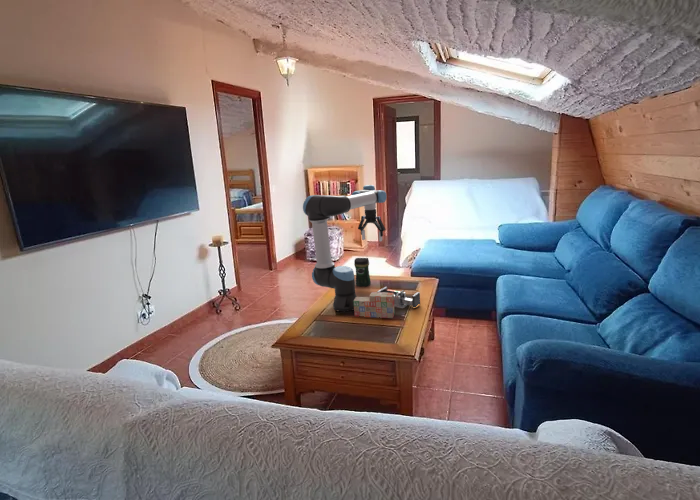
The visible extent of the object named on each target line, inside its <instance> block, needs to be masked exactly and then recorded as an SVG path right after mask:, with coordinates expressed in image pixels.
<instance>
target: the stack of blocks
mask: <svg viewBox="0 0 700 500" xmlns="http://www.w3.org/2000/svg"><path fill="white" fill-rule="evenodd" d="M353 303H354V311H353V312H354V317H359V316H364V317H363V318H379V317H380V318H382V319H383V318H384V319H394V316H395V314H396V313H395V312H396V310H395V307H394V293H388V292H383V293H382V292H377V291H371V293H370V294H369V296H357V297H356V298H355V299H354V301H353Z"/></svg>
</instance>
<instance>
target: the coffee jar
mask: <svg viewBox="0 0 700 500" xmlns="http://www.w3.org/2000/svg"><path fill="white" fill-rule="evenodd" d="M353 264H354V268H355V286H357V287H368V286H370V285H371V283H372V282H371V276H370V268H369V265H370V260H369V257H355V259H354V263H353Z"/></svg>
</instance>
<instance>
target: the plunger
mask: <svg viewBox="0 0 700 500" xmlns="http://www.w3.org/2000/svg"><path fill="white" fill-rule="evenodd" d="M402 292H405V289H402V290H401V291H400V292H399V293H398V294H396V295H395V296H398V295H399V296H400V300H401V304H406V305H408V306H412V308H413V307H416V306H417V305H418V304H420V305H421V292H415V293H414V294H413V295H412V296H411V297H410V298H409V297H406V298H405V297H402V295H401V293H402Z"/></svg>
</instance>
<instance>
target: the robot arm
mask: <svg viewBox="0 0 700 500" xmlns="http://www.w3.org/2000/svg"><path fill="white" fill-rule="evenodd" d="M362 187H363V188H362V189H359V190H355V191H352V193H351V195H349V196H347V195H330V194H329V195H328V194H327V195H323V194H322V195H321V194H320V195H319V194H314V195H313V194H312V195H309V196H307V197H306V198H305V200H304V201H303V204H302V211H303V213H304V214H305V215H306V216H307V217H308V221H309V222H310V223H311V226H312V234H313V242H314V243H313V244H314V250H315V257H316V263H315V264H314V267H313V270H312V272H311V278H312V281H313V282H314V284H316V285H317V286H320V287H323V288H324V287H325V288H329V289H334V299H333V304H332V306H333V310H334V311H336V310H339V311H347V310H352V309H354V303H353V301H354V299H355V298H356V297H358V296H357V294H356V275H355V273H354V272H355V271H354V270H353V268H351V267H349V266H347V265H345V266H344V265H338V266H336V265H335V262H334V261H333V260H332V252H331V246H330V245H331V244H330V237H329V229H328V228H329V227H328V220H329V219H330V217H336V216H340V215H342V214H346V213H349V212H350V210H354V209H357V208H361V207H364V215H361V217H360V221H359V225H358V227H357V229H358V230H359V231H360V235H361V239H362V241H364V240H366V230H365V228H366V226H367V225H368V224H373V225H374V226H375V227H376V228H377V230H378V241H379V242H380V243H381V242H383V237H384V231H386V230H387V229H386V227H385V224H384V223H383V221H382V218H381V216H377V209H376V208H377V206H376V205H377V203H378V204H381V203H382V204H383V203H385V202H386V201H387V192H386V191H385V190H380V189H379V190H376V189H375V187H376V186H375V185H374V184H365V185H363V186H362ZM339 311H338V312H339Z"/></svg>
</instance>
